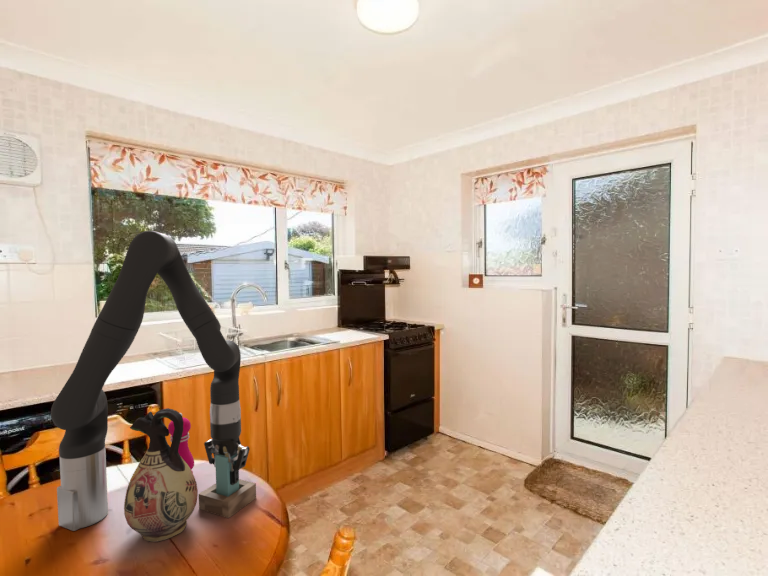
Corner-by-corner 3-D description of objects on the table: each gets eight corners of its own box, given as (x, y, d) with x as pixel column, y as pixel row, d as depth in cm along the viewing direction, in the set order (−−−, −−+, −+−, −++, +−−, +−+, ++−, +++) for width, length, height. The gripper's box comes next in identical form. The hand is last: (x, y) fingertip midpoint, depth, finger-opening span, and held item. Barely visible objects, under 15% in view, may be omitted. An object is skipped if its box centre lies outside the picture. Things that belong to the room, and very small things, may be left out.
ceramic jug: (108, 550, 93) (102, 417, 91) (155, 509, 108) (151, 395, 106) (178, 556, 90) (173, 420, 89) (217, 514, 106) (213, 397, 104)
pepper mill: (184, 487, 119) (181, 418, 118) (161, 484, 120) (159, 416, 119) (200, 474, 126) (197, 409, 125) (178, 472, 127) (176, 408, 126)
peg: (228, 503, 108) (226, 458, 107) (216, 500, 110) (215, 455, 109) (239, 495, 112) (238, 451, 111) (228, 492, 113) (226, 449, 113)
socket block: (228, 518, 104) (228, 502, 104) (199, 509, 108) (198, 494, 108) (256, 497, 113) (255, 483, 113) (227, 490, 117) (227, 476, 117)
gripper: (194, 418, 109) (196, 483, 110) (236, 426, 103) (238, 494, 104) (216, 409, 116) (218, 470, 117) (256, 416, 110) (258, 480, 111)
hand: (227, 481), depth 110 cm, fingers closed on peg, 4 cm apart
